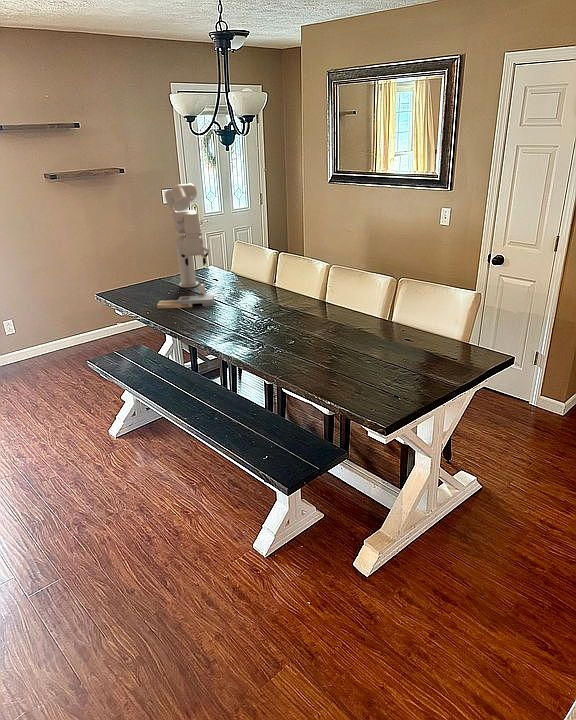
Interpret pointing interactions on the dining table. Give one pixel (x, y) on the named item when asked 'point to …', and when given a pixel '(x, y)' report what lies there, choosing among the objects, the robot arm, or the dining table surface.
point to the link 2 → (197, 300)
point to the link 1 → (171, 304)
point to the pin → (202, 289)
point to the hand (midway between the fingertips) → (196, 265)
